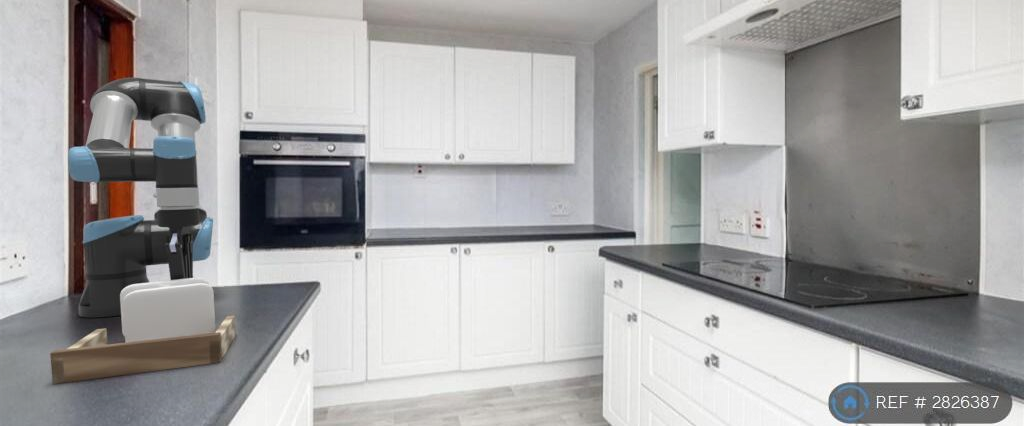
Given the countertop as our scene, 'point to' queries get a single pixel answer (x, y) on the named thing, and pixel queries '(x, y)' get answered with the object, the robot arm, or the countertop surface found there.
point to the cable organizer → (167, 309)
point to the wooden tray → (138, 354)
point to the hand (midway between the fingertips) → (184, 314)
